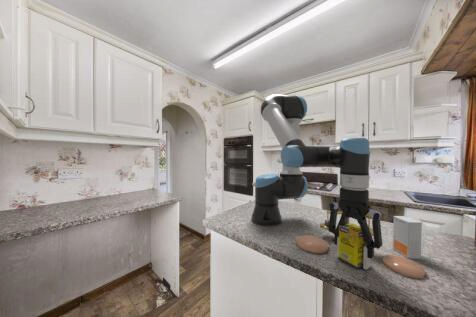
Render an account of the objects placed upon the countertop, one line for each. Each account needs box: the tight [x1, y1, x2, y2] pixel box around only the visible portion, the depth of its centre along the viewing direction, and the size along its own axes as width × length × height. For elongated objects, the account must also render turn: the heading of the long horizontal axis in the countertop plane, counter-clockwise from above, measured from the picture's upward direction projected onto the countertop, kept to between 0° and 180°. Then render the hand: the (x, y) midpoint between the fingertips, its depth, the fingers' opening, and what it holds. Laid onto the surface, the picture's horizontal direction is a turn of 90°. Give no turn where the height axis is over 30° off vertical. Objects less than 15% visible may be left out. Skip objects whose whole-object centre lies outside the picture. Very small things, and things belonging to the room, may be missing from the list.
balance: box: [319, 210, 374, 242], centre depth 65 cm, size 20×6×13 cm, turn 36°
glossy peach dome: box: [382, 254, 426, 279], centre depth 51 cm, size 9×9×1 cm
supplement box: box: [338, 222, 366, 270], centre depth 54 cm, size 6×6×11 cm
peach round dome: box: [295, 234, 330, 255], centre depth 64 cm, size 11×11×1 cm
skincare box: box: [392, 215, 423, 260], centre depth 58 cm, size 6×4×12 cm
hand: (352, 261), depth 54 cm, fingers closed on supplement box, 7 cm apart
